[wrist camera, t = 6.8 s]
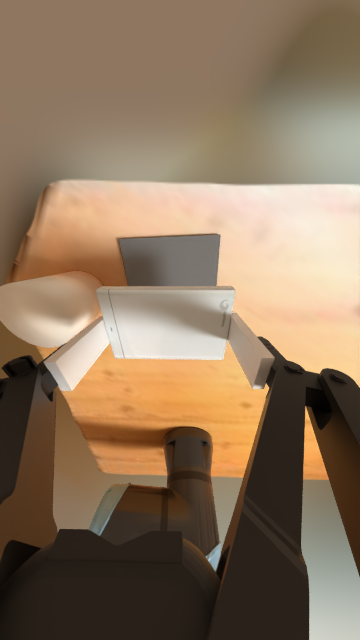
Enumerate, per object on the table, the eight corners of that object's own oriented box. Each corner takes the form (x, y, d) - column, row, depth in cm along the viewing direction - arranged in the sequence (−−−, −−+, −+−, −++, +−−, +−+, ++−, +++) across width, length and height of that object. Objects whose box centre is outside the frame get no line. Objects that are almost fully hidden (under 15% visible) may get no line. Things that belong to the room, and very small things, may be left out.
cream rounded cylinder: (113, 316, 25) (81, 346, 17) (70, 317, 25) (19, 348, 17) (101, 269, 22) (53, 281, 14) (51, 271, 22) (-25, 283, 14)
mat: (211, 341, 27) (211, 343, 27) (140, 343, 28) (140, 344, 27) (219, 235, 19) (220, 234, 19) (120, 239, 20) (118, 238, 19)
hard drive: (237, 289, 12) (93, 289, 12) (223, 361, 16) (114, 361, 16) (230, 285, 13) (103, 285, 14) (219, 351, 17) (119, 351, 17)
